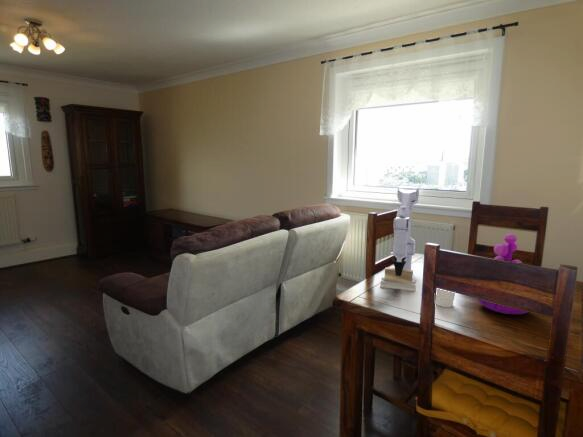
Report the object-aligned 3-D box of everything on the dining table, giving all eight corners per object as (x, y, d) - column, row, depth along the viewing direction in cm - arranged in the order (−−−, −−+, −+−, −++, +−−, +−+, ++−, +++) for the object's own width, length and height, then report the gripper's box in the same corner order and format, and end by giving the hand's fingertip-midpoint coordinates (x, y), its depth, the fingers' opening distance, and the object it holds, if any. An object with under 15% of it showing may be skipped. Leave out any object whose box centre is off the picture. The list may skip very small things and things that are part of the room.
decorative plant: (503, 323, 119) (513, 240, 114) (464, 302, 137) (470, 230, 132) (544, 317, 124) (555, 237, 119) (501, 298, 142) (509, 227, 137)
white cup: (458, 308, 132) (460, 283, 130) (437, 308, 132) (439, 283, 130) (449, 300, 139) (451, 277, 138) (429, 300, 140) (431, 276, 138)
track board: (381, 281, 161) (381, 276, 160) (415, 285, 156) (415, 280, 155) (380, 286, 154) (380, 281, 154) (415, 291, 149) (415, 285, 149)
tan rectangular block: (384, 281, 158) (385, 267, 157) (411, 284, 154) (412, 270, 153) (384, 283, 155) (385, 268, 154) (411, 286, 152) (412, 271, 150)
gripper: (391, 239, 160) (390, 267, 162) (390, 246, 146) (388, 277, 148) (407, 240, 157) (405, 268, 160) (407, 248, 144) (405, 278, 146)
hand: (398, 273), depth 154 cm, fingers open, 7 cm apart
